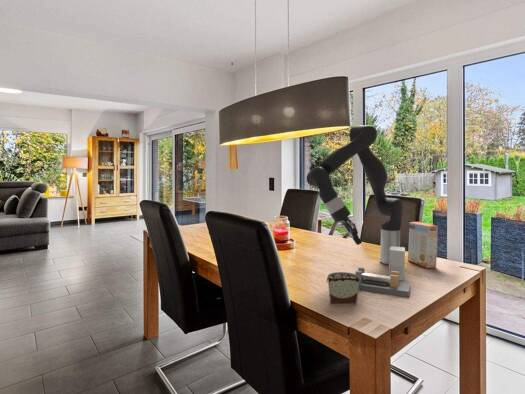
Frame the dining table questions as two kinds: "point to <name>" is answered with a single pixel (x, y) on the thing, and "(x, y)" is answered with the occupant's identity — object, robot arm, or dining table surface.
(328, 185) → the robot arm
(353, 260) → the dining table surface
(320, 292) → the dining table surface
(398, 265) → the small box
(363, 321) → the dining table surface
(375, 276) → the strap
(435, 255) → the cracker box
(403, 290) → the mounting plate
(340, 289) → the food container
